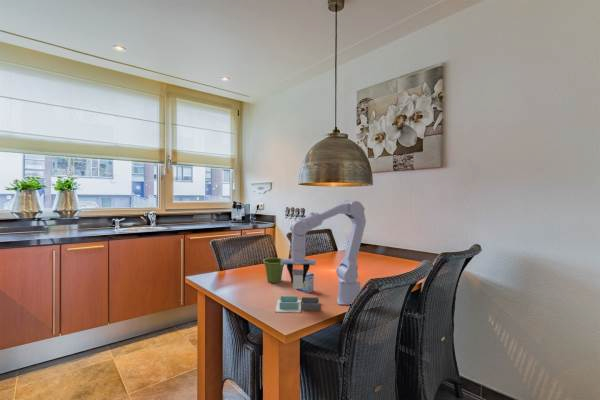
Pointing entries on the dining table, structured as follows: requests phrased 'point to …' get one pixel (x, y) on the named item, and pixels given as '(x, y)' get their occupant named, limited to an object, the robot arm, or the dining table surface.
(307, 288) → the medicine box
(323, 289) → the dining table surface
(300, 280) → the plug
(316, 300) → the grey arch stand
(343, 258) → the robot arm
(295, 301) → the port
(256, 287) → the dining table surface
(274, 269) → the plant pot
